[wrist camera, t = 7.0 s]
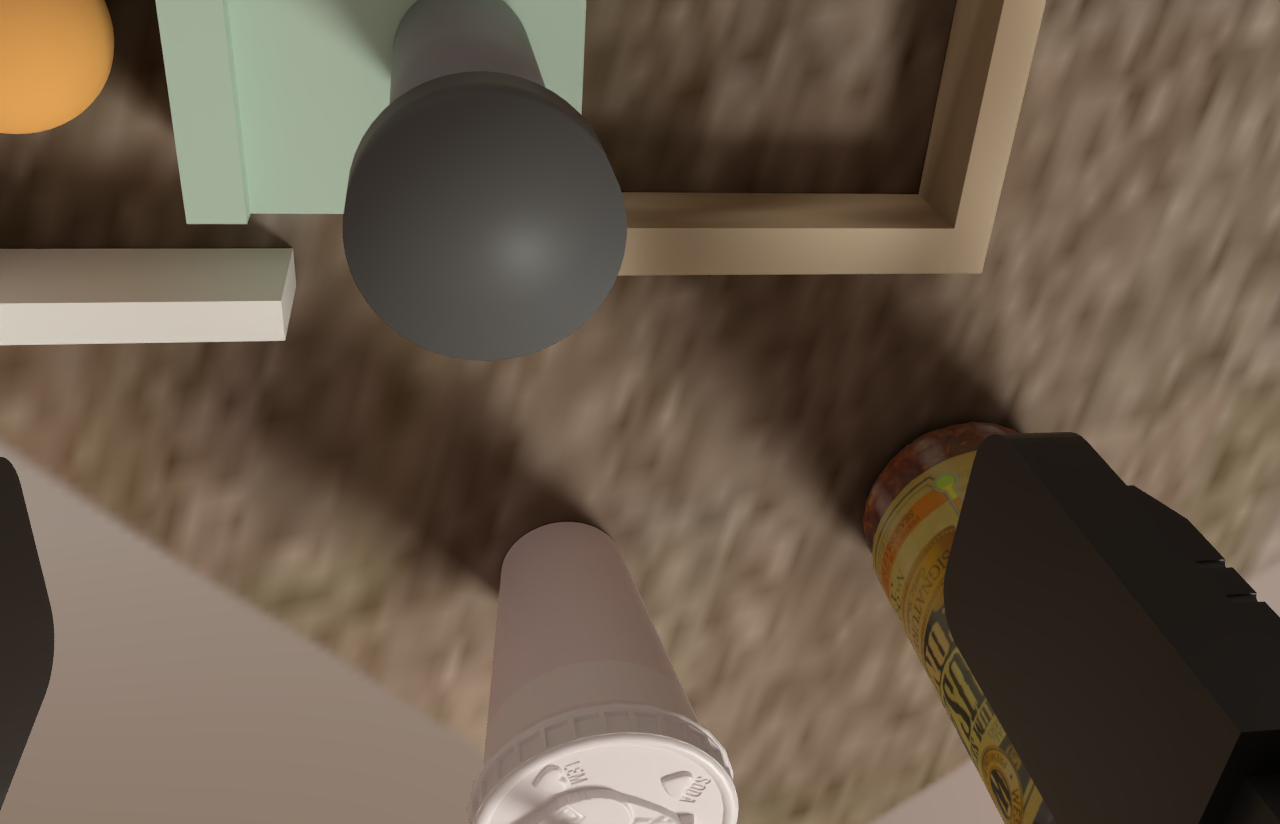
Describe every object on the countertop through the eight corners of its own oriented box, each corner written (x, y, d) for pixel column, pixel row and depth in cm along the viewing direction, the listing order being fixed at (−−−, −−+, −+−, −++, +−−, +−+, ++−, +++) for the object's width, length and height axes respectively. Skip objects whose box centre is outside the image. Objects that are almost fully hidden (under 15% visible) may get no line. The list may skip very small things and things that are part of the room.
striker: (573, -135, 25) (691, -22, 14) (562, 169, 28) (651, 444, 18) (171, -158, 23) (-29, -50, 13) (212, 166, 27) (80, 462, 16)
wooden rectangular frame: (1038, -197, 26) (1090, -190, 24) (944, 236, 31) (981, 273, 29) (401, -243, 23) (400, -239, 21) (417, 237, 29) (417, 276, 27)
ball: (-153, -59, 20) (-131, -95, 23) (-94, 168, 22) (-81, 108, 25) (102, -59, 21) (90, -92, 24) (136, 152, 23) (121, 97, 26)
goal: (239, -332, 22) (199, -342, 18) (296, 285, 29) (276, 383, 25) (-223, -370, 21) (-384, -391, 17) (-53, 287, 27) (-138, 392, 23)
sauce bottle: (855, 426, 34) (1285, 1123, 17) (1056, 397, 35) (1658, 1038, 18) (848, 596, 37) (1201, 1315, 21) (1031, 567, 38) (1517, 1238, 21)
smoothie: (460, 482, 33) (486, 918, 21) (680, 484, 34) (822, 895, 22) (451, 653, 36) (468, 1115, 24) (652, 649, 37) (763, 1085, 25)
